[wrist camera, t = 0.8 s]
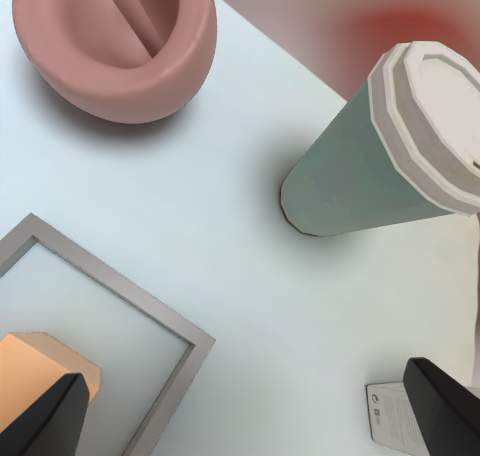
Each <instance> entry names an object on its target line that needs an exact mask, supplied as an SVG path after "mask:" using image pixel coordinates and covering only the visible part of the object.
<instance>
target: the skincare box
mask: <svg viewBox="0 0 480 456" xmlns="http://www.w3.org/2000/svg"><path fill="white" fill-rule="evenodd" d="M463 387H465V388H466V389H467V390H469V391H470V392H471V393H473V394H474V395H475V396H477V397H478V398H479V399H480V388H475V387H466V386H463ZM367 393H368V406H369V414H370V423H371V430H372V437H373V440H375V442H377V443H379V444H381V445H384V446H387V447H390V448H392V449H395V450H398V451H401V452H404V453H406V454H409V455H412V456H430V454H429V452H428V450H427V448H426V445H425V443H424V440H423V438H422V435H421V432H420V430H419V427H418V424H417V421H416V418H415V416H414V413H413V410H412V407H411V405H410V402H409V399H408V396H407V393H406V391H405V388H404V384H403V382H397V383H386V384H375V385H368V386H367Z"/></svg>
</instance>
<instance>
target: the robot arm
mask: <svg viewBox="0 0 480 456" xmlns="http://www.w3.org/2000/svg"><path fill="white" fill-rule="evenodd" d="M403 384H404V388H405V391H406V393H407V396H408V399H409V402H410V405H411V407H412V410H413V413H414V416H415V418H416V421H417V424H418V427H419V430H420V432H421V435H422V438H423V440H424V443H425V445H426V448H427V450H428V452H429V454H430V456H480V399H479V398H478V397H477V396H475V395H474V394H473V393H471V392H470V391H469V390H467V389H466V388H465V387H463V386H462V385H461V384H460V383H458V382H457V381H456V380H454V379H453V378H452V377H450V376H449V375H448V374H447V373H445V372H444V371H443V370H441V369H440V368H439V367H437V366H436V365H435V364H434V363H432V362H431V361H430V360H428V359H426V358H424V357H415V358H410V359H409V360H408V362H407V365H406V369H405V372H404V375H403ZM89 398H90V392H89V389H88V386H87V384H86V381H85V378H84V376H83V374H82V373H80V372H74V373H66V374H64V375H63V376H62V377H61V378H59V379H58V380H57V381H56V382H55V383H54V384H53V385H52V386H51V387H50V388H49V389H48V390H46V391H45V392H44V393H43V394H42V395H41V396H40V397H39V398H38V399H37V400H36V401H34V402H33V403H32V404H31V405H30V406H29V407H28V408H27V409H26V410H25V411H24V412H23V413H21V414H20V415H19V416H18V417H17V418H16V419H15V420H14V421H13V422H12V423H11V424H10V425H8V426H7V427H6V428H5V429H4V430H3V431H2V432H1V433H0V456H75V452H76V449H77V445H78V441H79V437H80V433H81V430H82V426H83V422H84V418H85V414H86V410H87V407H88V403H89Z"/></svg>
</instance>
